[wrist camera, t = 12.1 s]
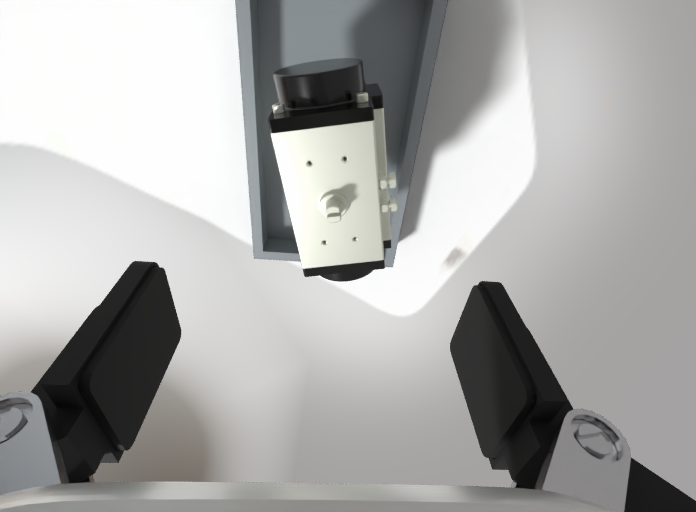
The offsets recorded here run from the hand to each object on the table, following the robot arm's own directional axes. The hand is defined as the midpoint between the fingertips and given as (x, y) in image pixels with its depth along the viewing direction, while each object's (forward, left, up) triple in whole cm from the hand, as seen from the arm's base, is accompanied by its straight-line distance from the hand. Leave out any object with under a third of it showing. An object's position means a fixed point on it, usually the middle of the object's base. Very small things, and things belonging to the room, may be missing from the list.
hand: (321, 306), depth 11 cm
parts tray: (+1, 0, -20) cm, 20 cm away
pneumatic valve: (0, +1, -19) cm, 19 cm away
